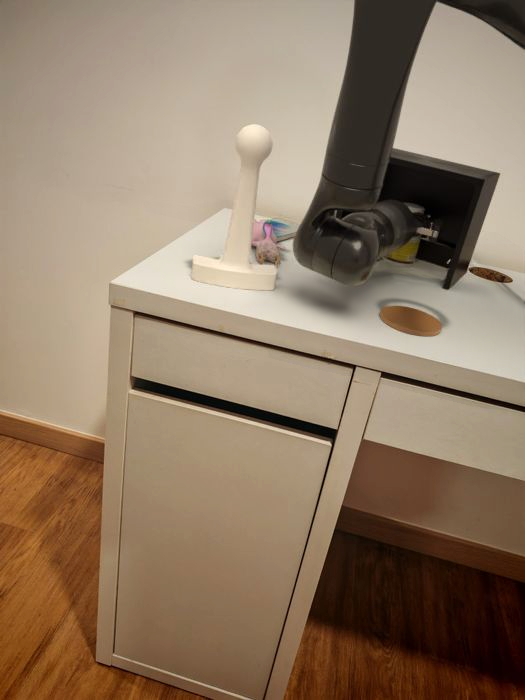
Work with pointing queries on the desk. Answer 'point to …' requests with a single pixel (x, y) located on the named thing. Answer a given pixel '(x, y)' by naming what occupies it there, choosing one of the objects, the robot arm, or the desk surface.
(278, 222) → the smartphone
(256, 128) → the joystick
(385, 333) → the desk surface
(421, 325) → the cork trivet
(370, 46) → the robot arm
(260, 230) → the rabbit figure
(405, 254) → the supplement bottle
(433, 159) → the black open shelf
